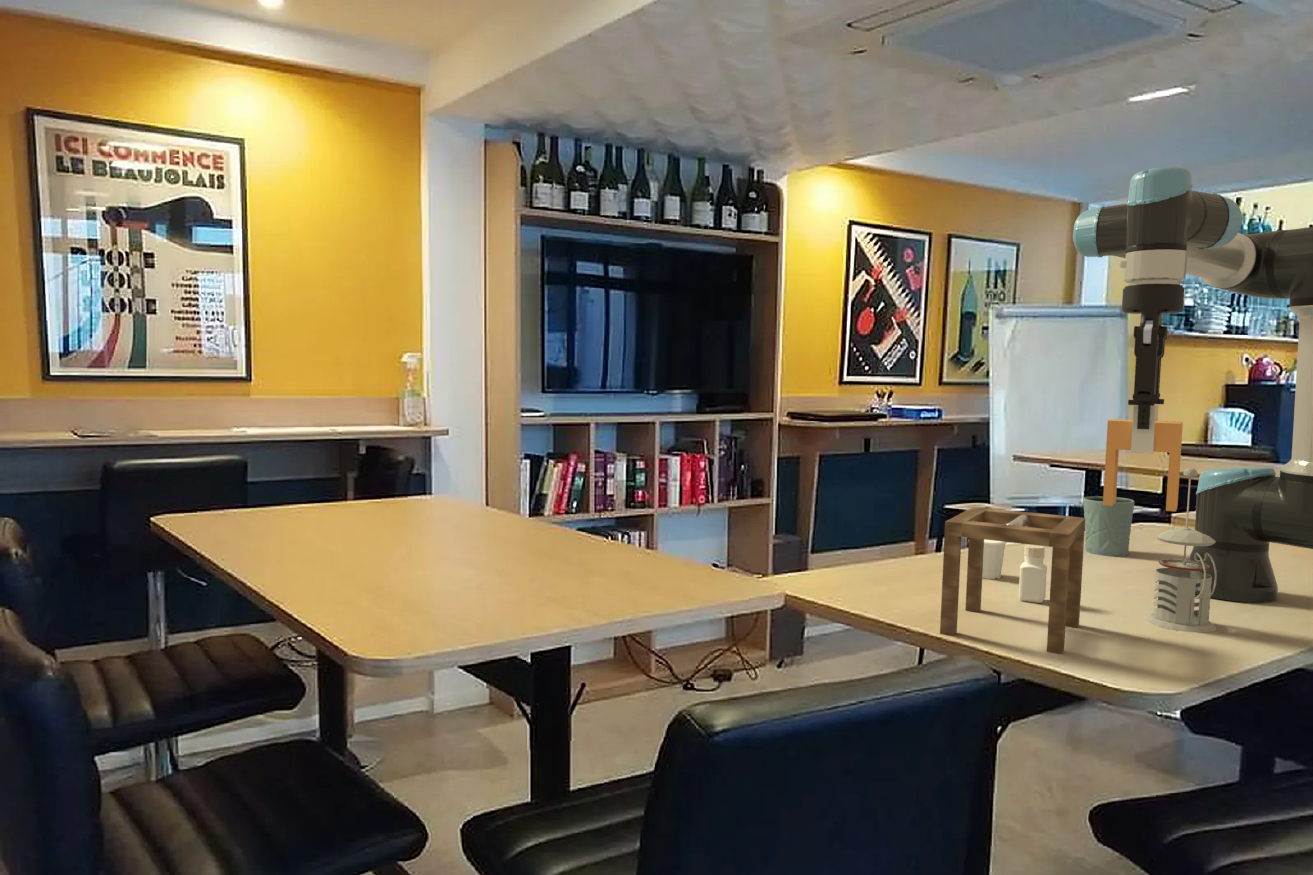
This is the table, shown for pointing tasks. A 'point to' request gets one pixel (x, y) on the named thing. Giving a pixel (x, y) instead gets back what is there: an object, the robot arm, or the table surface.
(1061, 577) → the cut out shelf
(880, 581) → the table surface
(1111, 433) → the orange arch block
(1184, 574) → the french press
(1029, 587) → the white pill bottle
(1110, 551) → the green plant pot
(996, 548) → the white cup
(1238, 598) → the robot arm
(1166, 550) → the table surface
